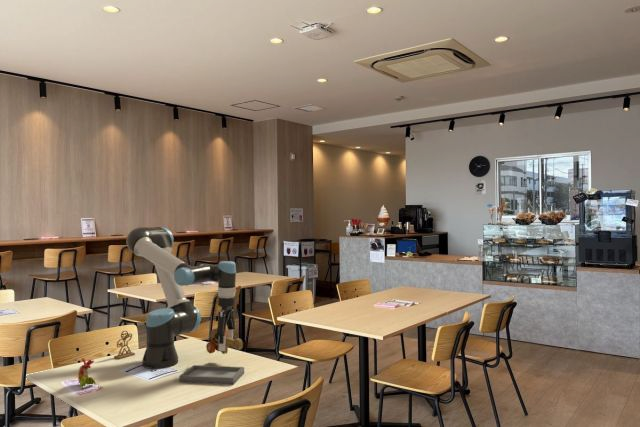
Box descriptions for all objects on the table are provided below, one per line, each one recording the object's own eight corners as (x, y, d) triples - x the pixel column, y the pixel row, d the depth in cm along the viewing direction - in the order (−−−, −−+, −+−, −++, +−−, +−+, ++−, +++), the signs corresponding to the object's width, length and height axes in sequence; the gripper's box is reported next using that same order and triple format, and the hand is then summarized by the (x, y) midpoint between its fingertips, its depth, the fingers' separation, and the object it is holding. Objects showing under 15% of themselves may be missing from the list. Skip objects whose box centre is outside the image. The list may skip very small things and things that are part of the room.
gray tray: (179, 382, 191) (179, 375, 191) (193, 371, 205) (193, 365, 205) (233, 384, 188) (233, 378, 188) (244, 373, 202) (244, 367, 202)
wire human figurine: (118, 359, 222) (118, 333, 222) (113, 358, 224) (113, 332, 224) (135, 354, 230) (135, 329, 230) (129, 353, 232) (129, 328, 232)
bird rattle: (72, 392, 186) (82, 387, 181) (67, 363, 189) (77, 358, 184) (89, 388, 191) (99, 383, 186) (84, 360, 194) (93, 354, 189)
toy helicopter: (219, 348, 222) (219, 318, 222) (249, 356, 209) (249, 324, 209) (204, 352, 216) (204, 321, 216) (234, 360, 202) (234, 327, 203)
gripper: (226, 301, 202) (225, 355, 202) (242, 292, 224) (241, 341, 224) (209, 300, 203) (208, 354, 203) (226, 292, 225) (226, 340, 226)
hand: (225, 347), depth 214 cm, fingers closed on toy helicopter, 10 cm apart
